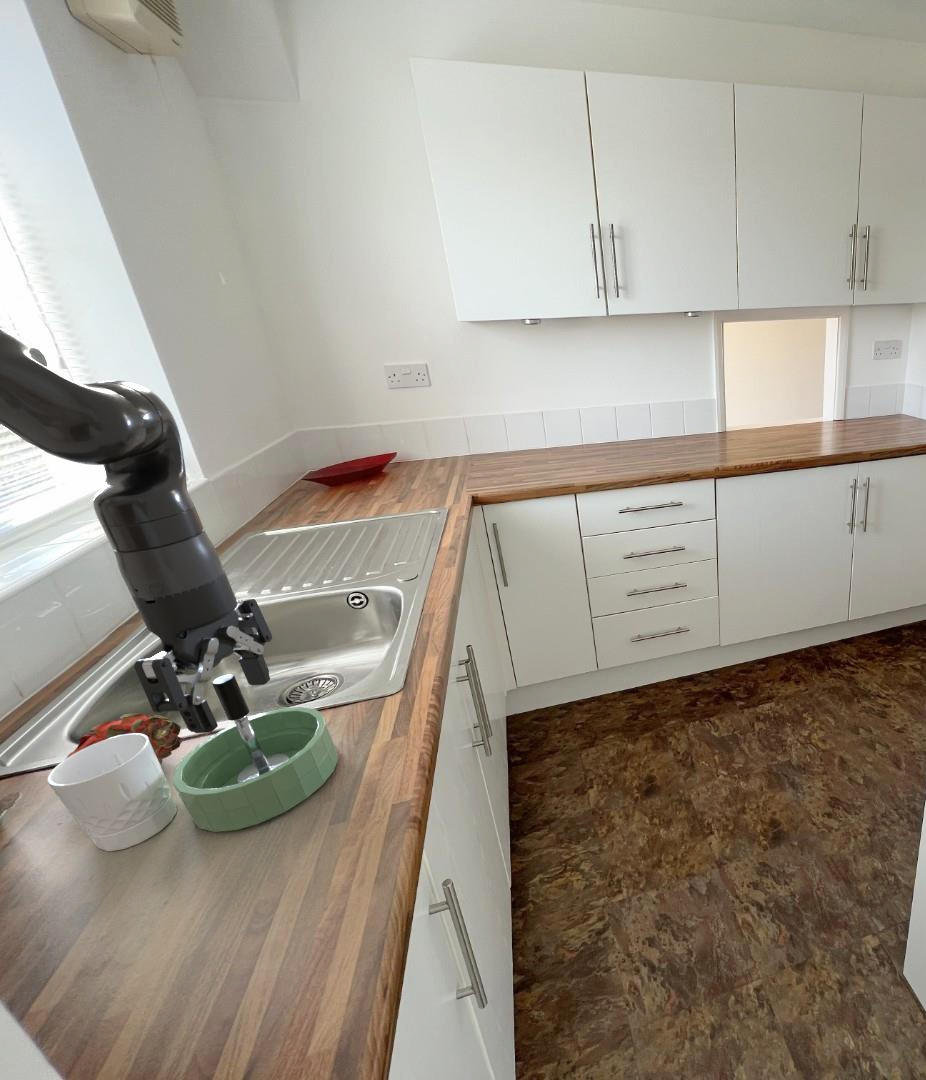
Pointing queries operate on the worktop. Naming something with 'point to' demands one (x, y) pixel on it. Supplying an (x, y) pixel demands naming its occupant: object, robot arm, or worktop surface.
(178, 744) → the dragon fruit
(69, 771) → the white cup
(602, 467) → the worktop surface
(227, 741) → the bowl
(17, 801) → the worktop surface
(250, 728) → the weighted base post
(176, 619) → the robot arm
